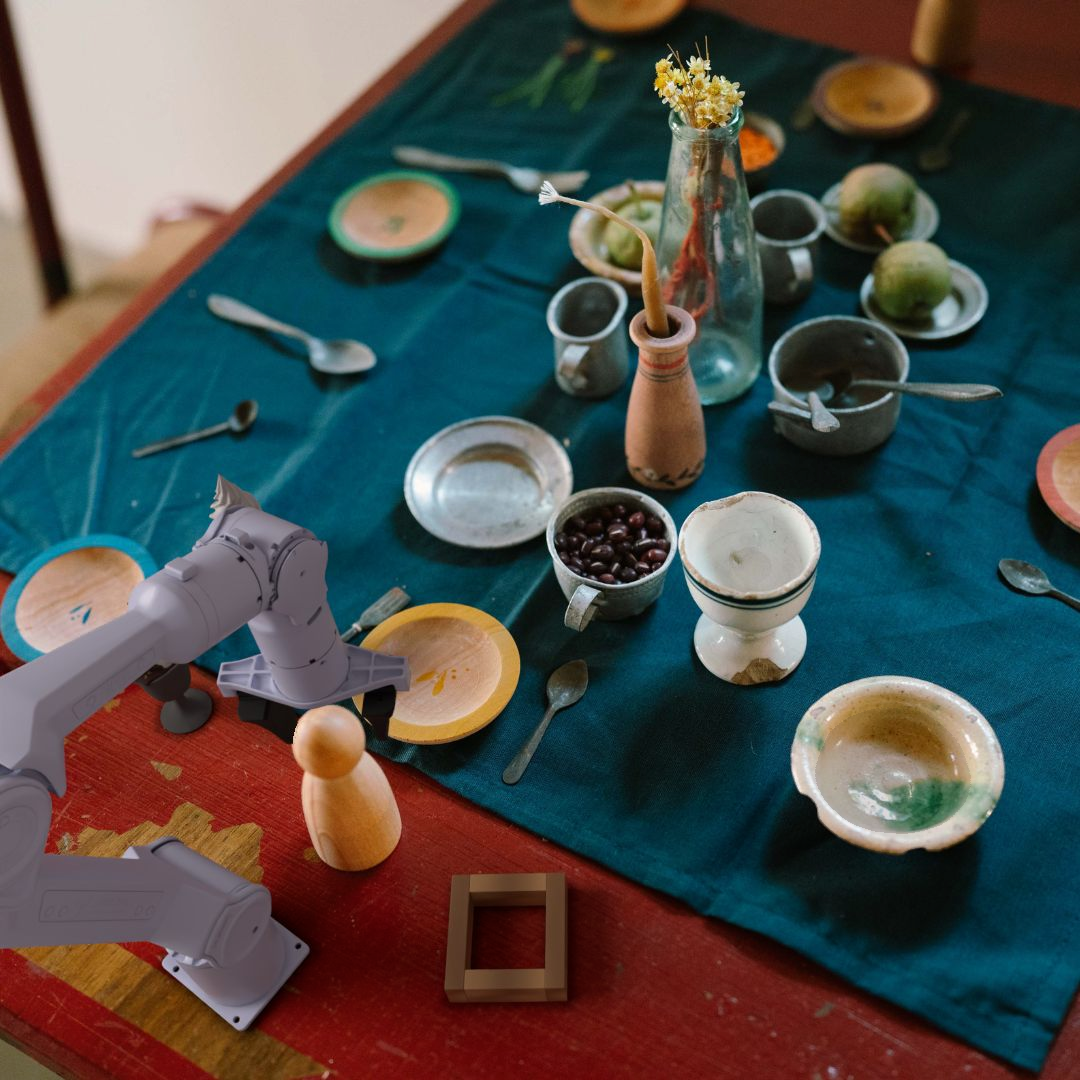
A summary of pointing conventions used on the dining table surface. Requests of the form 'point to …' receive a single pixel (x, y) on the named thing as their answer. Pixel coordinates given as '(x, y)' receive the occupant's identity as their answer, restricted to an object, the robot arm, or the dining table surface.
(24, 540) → the dining table surface
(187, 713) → the sundae
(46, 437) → the dining table surface
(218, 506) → the ice cream cone
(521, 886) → the brown square frame
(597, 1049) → the dining table surface
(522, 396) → the dining table surface
